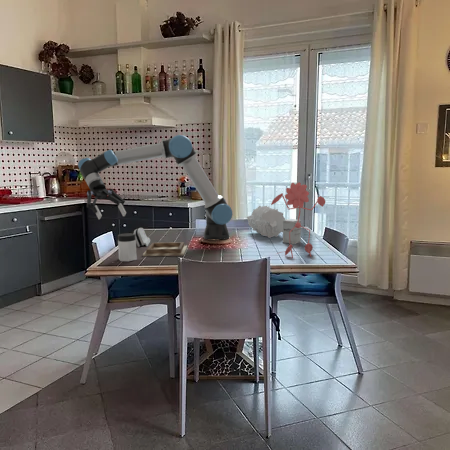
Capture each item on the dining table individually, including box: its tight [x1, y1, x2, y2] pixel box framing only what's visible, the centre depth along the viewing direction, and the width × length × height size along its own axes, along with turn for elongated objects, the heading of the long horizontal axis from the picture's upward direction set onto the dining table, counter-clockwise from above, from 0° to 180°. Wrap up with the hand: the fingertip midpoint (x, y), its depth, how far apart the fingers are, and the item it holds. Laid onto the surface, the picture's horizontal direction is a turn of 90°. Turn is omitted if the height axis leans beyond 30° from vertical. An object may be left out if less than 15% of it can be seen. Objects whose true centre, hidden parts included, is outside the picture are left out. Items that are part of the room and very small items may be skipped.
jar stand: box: [142, 241, 188, 257], centre depth 223 cm, size 20×19×3 cm
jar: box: [117, 232, 138, 262], centre depth 207 cm, size 9×8×12 cm
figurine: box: [270, 181, 326, 259], centre depth 209 cm, size 15×26×35 cm, turn 103°
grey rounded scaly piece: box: [246, 205, 286, 239], centre depth 262 cm, size 18×18×25 cm
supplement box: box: [282, 218, 302, 245], centre depth 239 cm, size 7×7×13 cm
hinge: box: [133, 227, 151, 248], centre depth 244 cm, size 17×5×10 cm, turn 3°
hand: (112, 216), depth 212 cm, fingers open, 13 cm apart
